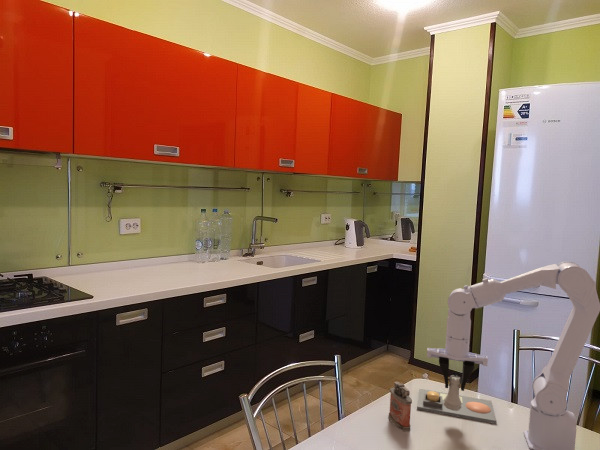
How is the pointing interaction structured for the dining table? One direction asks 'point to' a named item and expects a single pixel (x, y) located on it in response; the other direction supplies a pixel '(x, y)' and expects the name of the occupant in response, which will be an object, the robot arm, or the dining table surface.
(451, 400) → the rook chess piece
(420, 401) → the grey board
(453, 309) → the robot arm
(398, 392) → the lighter
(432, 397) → the button
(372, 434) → the dining table surface
